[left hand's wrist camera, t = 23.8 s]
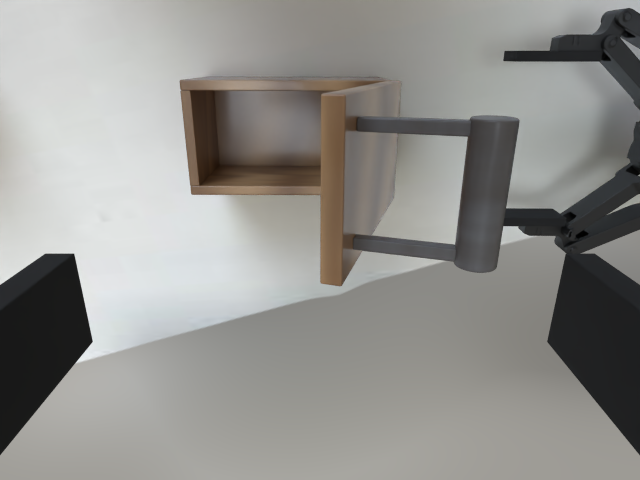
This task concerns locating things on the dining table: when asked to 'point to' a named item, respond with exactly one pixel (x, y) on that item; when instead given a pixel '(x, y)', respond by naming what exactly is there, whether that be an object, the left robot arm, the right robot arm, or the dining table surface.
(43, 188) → the dining table surface
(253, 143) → the chest
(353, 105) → the lid
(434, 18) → the dining table surface
